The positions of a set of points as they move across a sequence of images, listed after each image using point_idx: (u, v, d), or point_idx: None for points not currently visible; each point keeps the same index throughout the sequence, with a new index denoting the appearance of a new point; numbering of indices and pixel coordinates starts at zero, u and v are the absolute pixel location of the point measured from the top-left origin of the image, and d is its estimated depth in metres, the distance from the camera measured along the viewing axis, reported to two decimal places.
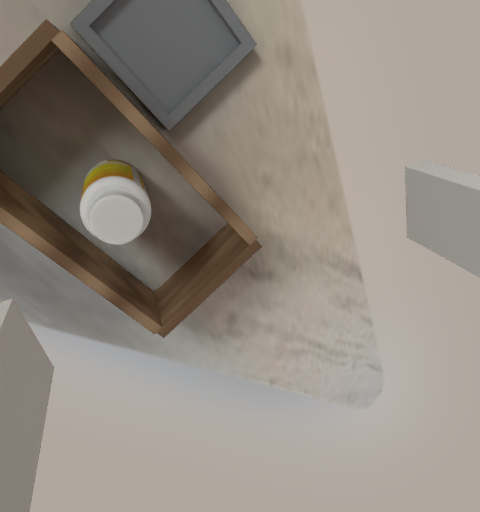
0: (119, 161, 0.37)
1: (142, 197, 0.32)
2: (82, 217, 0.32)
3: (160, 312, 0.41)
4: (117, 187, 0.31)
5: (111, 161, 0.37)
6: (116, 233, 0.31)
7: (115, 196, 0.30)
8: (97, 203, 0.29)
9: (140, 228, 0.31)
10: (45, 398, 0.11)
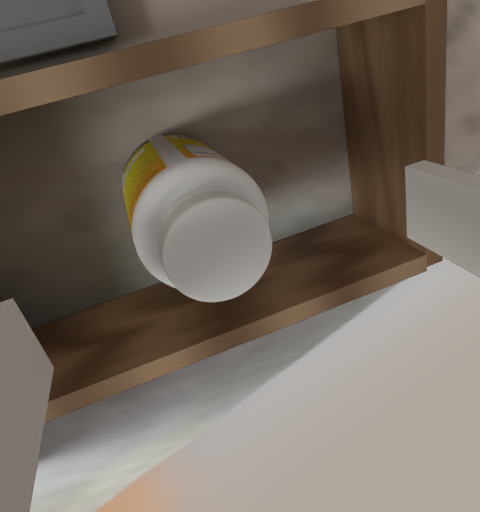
0: (133, 155, 0.20)
1: (203, 172, 0.15)
2: None
3: (396, 235, 0.23)
4: (161, 207, 0.15)
5: (126, 168, 0.20)
6: (243, 266, 0.14)
7: (171, 231, 0.13)
8: (167, 270, 0.14)
9: (260, 219, 0.14)
10: (45, 398, 0.11)
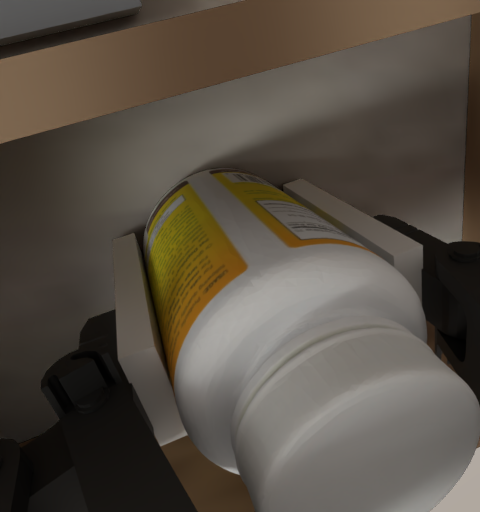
0: (163, 205, 0.13)
1: (329, 282, 0.07)
2: None
3: None
4: (241, 356, 0.07)
5: (152, 227, 0.13)
6: (417, 487, 0.07)
7: (285, 457, 0.05)
8: None
9: (470, 402, 0.06)
10: None
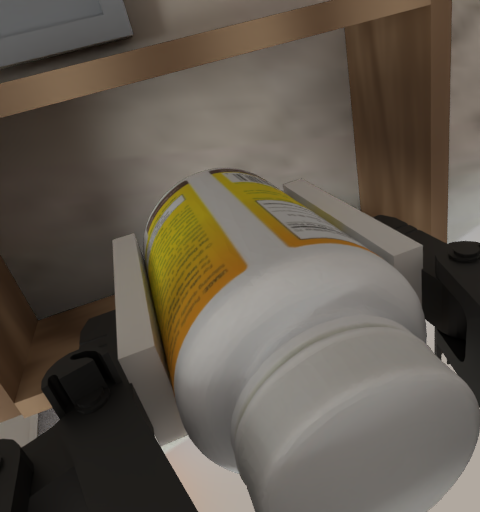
0: (163, 205, 0.13)
1: (328, 282, 0.07)
2: None
3: None
4: (241, 356, 0.07)
5: (152, 227, 0.13)
6: (416, 486, 0.07)
7: (285, 455, 0.05)
8: None
9: (469, 401, 0.06)
10: None
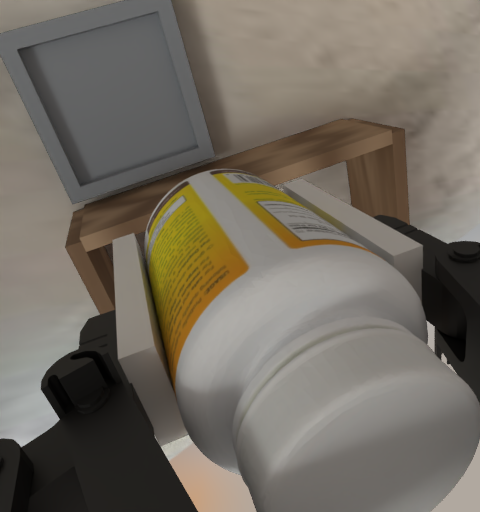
0: (163, 205, 0.13)
1: (330, 283, 0.07)
2: None
3: None
4: (243, 357, 0.07)
5: (153, 227, 0.13)
6: (418, 488, 0.07)
7: (287, 457, 0.05)
8: None
9: (471, 403, 0.06)
10: None
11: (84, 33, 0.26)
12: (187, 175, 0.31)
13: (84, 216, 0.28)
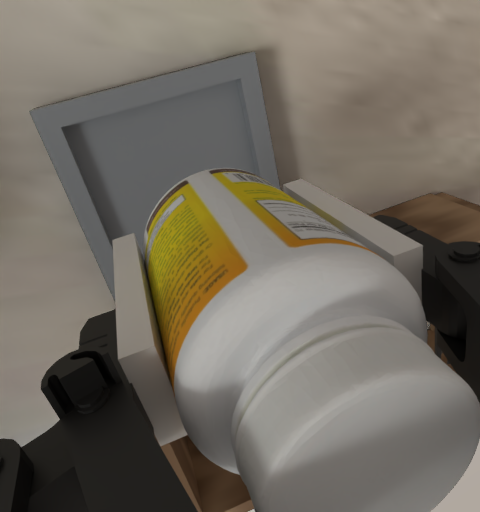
0: (163, 205, 0.13)
1: (330, 282, 0.07)
2: None
3: None
4: (242, 356, 0.07)
5: (152, 226, 0.13)
6: (417, 488, 0.07)
7: (285, 456, 0.05)
8: None
9: (471, 402, 0.06)
10: None
11: (145, 104, 0.20)
12: None
13: None
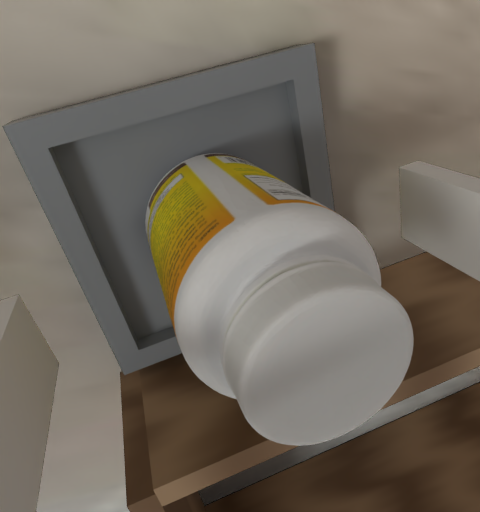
0: (163, 183, 0.15)
1: (298, 230, 0.09)
2: None
3: None
4: (229, 287, 0.09)
5: (154, 202, 0.14)
6: (364, 389, 0.09)
7: (259, 347, 0.07)
8: (245, 407, 0.08)
9: (402, 317, 0.08)
10: (51, 393, 0.11)
11: (164, 114, 0.15)
12: None
13: (145, 402, 0.17)
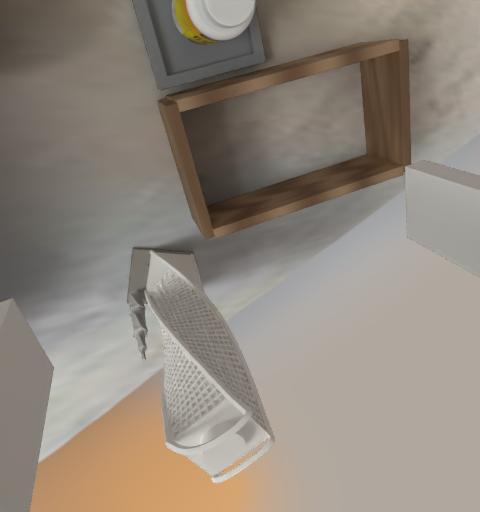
0: None
1: None
2: (209, 33, 0.32)
3: (389, 160, 0.46)
4: None
5: None
6: (241, 5, 0.30)
7: None
8: None
9: None
10: (45, 398, 0.11)
11: None
12: (244, 75, 0.41)
13: (170, 97, 0.38)
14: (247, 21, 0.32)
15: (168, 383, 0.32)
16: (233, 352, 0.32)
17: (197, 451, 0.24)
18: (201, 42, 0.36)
